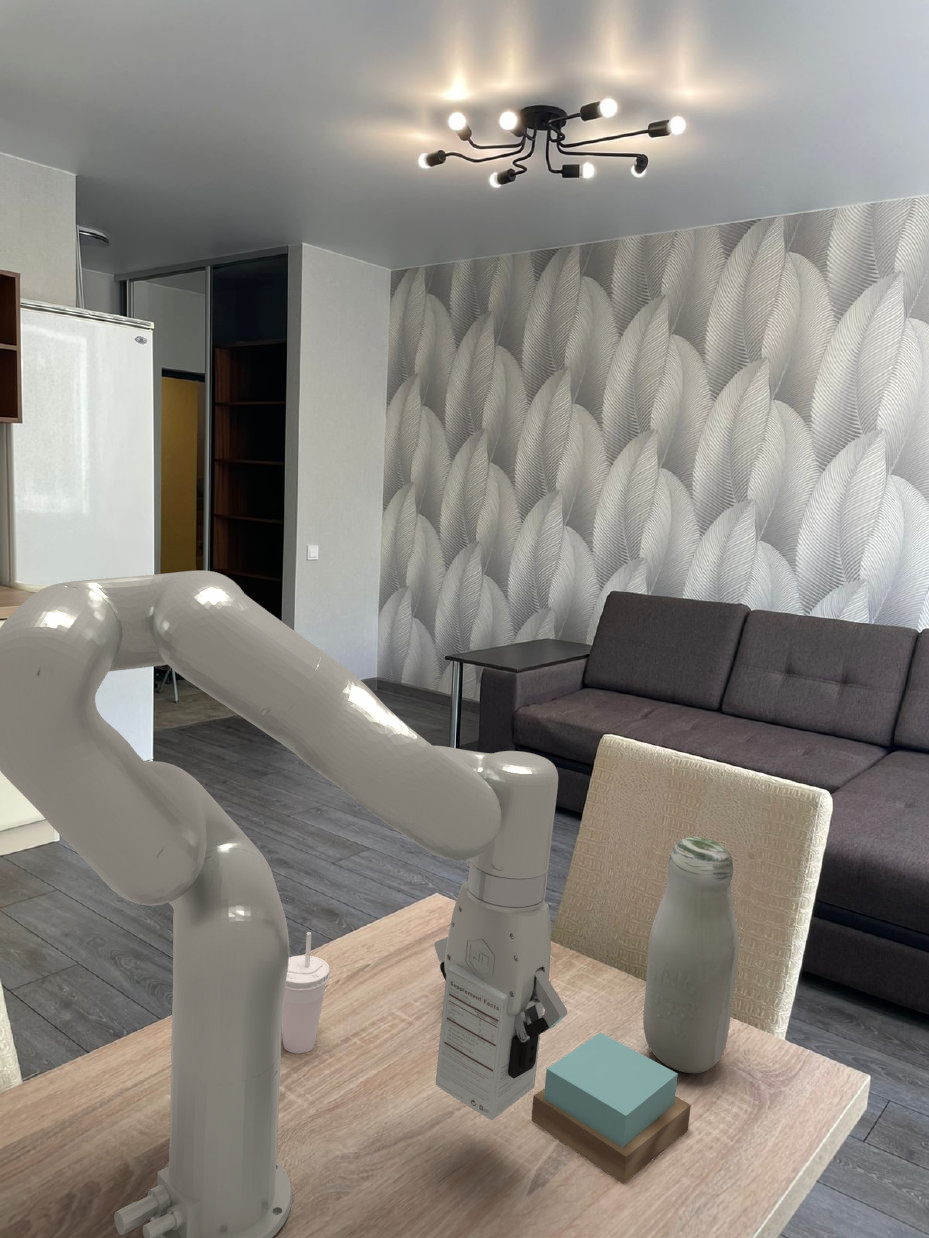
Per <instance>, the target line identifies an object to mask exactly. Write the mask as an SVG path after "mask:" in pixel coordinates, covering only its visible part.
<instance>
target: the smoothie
mask: <svg viewBox="0 0 929 1238" xmlns="http://www.w3.org/2000/svg"><path fill="white" fill-rule="evenodd" d="M305 935H306V939H305V955H304V954H302V955H293V956H289V963H288V971H287V978H286V985H285V992H284V1000H283V1012H282V1031H281V1035H282V1041H283V1048H284V1049H285V1050H286V1051H287V1052H289V1053H292V1054H305V1053H308V1052H310V1051H311V1050H313V1049H314V1047H315V1046H316V1040H317V1033H318V1029H319V1023H320V1018H321V1012H322V1007H323V1006H322V1005H323V1001H324V996H325V991H326V990H325V989H326V986H327V985H326V984H327V983H328V981H329V979H330V976H331V974H330V966H329V964H328V962H327V961H325V960H324V959H323V958H320V957H317V956H313V955H311V946H312V932H310V931H308V932H306V934H305Z"/></svg>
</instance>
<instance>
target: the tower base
mask: <svg viewBox="0 0 929 1238" xmlns="http://www.w3.org/2000/svg"><path fill="white" fill-rule="evenodd" d="M544 1093H545V1087H544V1088H543V1089H542V1090H540V1091H538V1092H537V1093H535V1094H534V1095H533V1098H532V1109H531V1120H530V1121H531V1122H532V1123H534V1124H535V1125H537V1126H538V1127H540V1128H541V1129H542V1130H543V1131H546V1132H547V1133H549V1134H550V1135H551V1136H553V1137H554V1138H556V1139H557V1140H558V1141H560V1142H562V1143H563V1144H564V1145H566V1146H567V1147H569V1148H570V1149H572V1150H573V1151H574V1152H576V1153H577V1154H579V1155H580V1156H582V1157H583V1158H585V1159H586V1160H588V1161H589V1162H590V1163H592V1164H593V1165H594V1166H597V1167H598V1168H599V1169H600V1170H603V1172H605V1173H606V1174H608V1175H610V1176H611V1177H613V1179H615V1180H616V1181H618V1182H620V1183H621V1184H622V1185H624V1184H625V1183H626V1182H628V1181H629V1180H630V1179H632V1178H633V1177H634V1176H635V1175H636V1174H637V1173H639V1172H640V1171H641V1170H642V1169H644V1168H645V1166H647V1165H648V1164H649V1163H651V1162H652V1161H653V1160H654V1159H655V1158H657V1157H658V1156H659V1155H660V1154H662V1153H663V1151H665V1150H666V1149H667V1148H668V1147H669V1146H671V1145H672V1144H673V1143H675V1142H676V1141H677V1140H678V1139H679V1138H680V1137H681V1136H683V1135H684V1134H685V1133H686V1132H688V1131H689V1125H690V1124H689V1123H690V1114H691V1108H692V1107H691V1106H692V1105H691V1104H690V1103H688V1102H686V1101H685V1100H683V1099H681V1098H680V1097H678V1096H676V1095H675V1104H673V1105H672V1106H671V1107H670V1108H669V1109H668V1110H666V1111H665V1112H664V1113H663V1114H662V1115H661V1116H659V1117H658V1118H657V1119H656V1120H655V1121H654V1122H652V1123H651V1124H650V1125H649V1126H648V1127H647V1128H645V1129H644V1130H643V1131H642V1132H641V1133H640V1134H638V1135H637V1136H636V1137H635V1138H634V1139H633V1140H631V1141H630V1142H629V1143H628V1144H627V1145H626V1146H624V1147H621V1146H619V1145H618V1144H616V1143H615V1142H613V1141H611V1140H610V1139H608V1138H607V1137H605V1136H603V1135H602V1134H600V1133H598V1132H597V1131H595V1130H594V1129H592V1128H590V1127H589V1126H587V1125H586V1124H584V1123H582V1122H581V1121H579V1120H578V1119H576V1118H574V1117H573V1116H571V1115H570V1114H568V1113H566V1112H565V1111H563V1110H561V1109H560V1108H558V1107H557V1106H555V1105H553V1104H552V1103H550V1102H549V1101H547V1100H545V1099H544Z"/></svg>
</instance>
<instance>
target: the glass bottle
mask: <svg viewBox="0 0 929 1238" xmlns="http://www.w3.org/2000/svg"><path fill="white" fill-rule="evenodd" d="M732 858H733V857H732V855H731V853H730V851H729V850H728V849H727V848H725V847H724V845H722V844H720V843H718V842H716V841H714V840H713V839H710V838H705V837H701V836H687V837H685V838H682V839H680V840H678V841H677V842H676V843H675V845H674V846H673V848H672V850H671V853H670V854H669V858H668V862H667V872H668V873H667V881H666V886H665V889H664V890H665V891H664V894H663V896H662V898H661V901H660V903H659V906H658V909H657V911H656V914H655V917H654V919H653V922H652V925H651V929H650V933H649V939H648V946H647V947H648V948H647V960H646V961H647V962H646V963H647V964H646V965H647V966H646V981H645V993H644V1001H643V1002H644V1003H643V1016H642V1022H643V1023H642V1024H643V1032H644V1037H645V1040H646V1044H647V1045H648V1047H649V1049H650V1051H651V1052H652V1053H653V1054H654V1056H655V1057H656V1059H658V1060H659V1061H660V1062H662V1063H663V1064H664V1065H666V1066H667V1067H669V1068H671V1069H673V1070H675V1071H678V1072H682V1073H685V1074H686V1073H687V1074H701V1073H703V1072H706V1071H708V1070H709V1069H711V1068H713V1067H714V1066H715V1064H717V1063H718V1062H719V1061H720V1060H721V1059H722V1057H723V1055H724V1052H725V1049H726V1046H727V1042H728V1037H729V1031H730V1023H731V1016H732V1009H733V1008H732V1007H733V1000H734V992H735V985H736V977H737V970H738V969H737V968H738V961H739V960H738V959H739V952H740V949H739V948H740V944H739V943H740V940H739V932H738V924H737V923H738V922H737V918H736V915H735V909H734V903H733V902H734V900H733V892H732V884H731V881H732V879H733V875H734V864H733V859H732Z"/></svg>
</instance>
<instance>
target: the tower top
mask: <svg viewBox="0 0 929 1238" xmlns="http://www.w3.org/2000/svg"><path fill="white" fill-rule="evenodd" d="M678 1075H679V1073H677V1072H675V1071H673V1070H672V1069H670V1068H668V1067H666V1066H664V1065H662V1064H661V1063H658V1062H656V1061H655V1060H653V1059H651V1058H649V1057H647V1056H646V1055H643V1054H642V1053H640V1052H638V1051H636V1050H635V1049H632V1048H630V1047H629V1046H626V1045H625V1044H623V1043H622V1042H619V1041H618V1040H616V1039H613V1038H612V1037H610V1036H608V1035H606V1034H604V1033H602V1032H599V1033H597V1034H596V1035H594V1036H592V1038H589V1039H588V1040H586V1041H585V1042H584V1043H582V1044H581V1045H579V1046H578V1047H577V1048H575V1049H574V1050H572V1051H570V1052H569V1053H567V1054H566V1055H565V1056H563V1057H561V1058H560V1059H559V1060H557V1061H556V1062H554V1063H552V1064H551V1065H549V1066H548V1067H547V1068H546V1071H545V1082H544V1088H545V1093H544V1099H545V1100H547V1101H549V1102H550V1103H552V1104H553V1105H555V1106H557V1107H558V1108H560V1109H561V1110H563V1111H565V1112H566V1113H568V1114H570V1115H571V1116H573V1117H574V1118H576V1119H578V1120H579V1121H581V1122H582V1123H584V1124H586V1125H587V1126H589V1127H590V1128H592V1129H594V1130H595V1131H597V1132H598V1133H600V1134H602V1135H603V1136H605V1137H607V1138H608V1139H610V1140H611V1141H613V1142H615V1143H616V1144H618V1145H619V1146H621V1147H624V1146H626V1145H627V1144H628V1143H629V1142H630V1141H631V1140H633V1139H634V1138H635V1137H636V1136H637V1135H638V1134H640V1133H641V1132H642V1131H643V1130H644V1129H645V1128H647V1127H648V1126H649V1125H650V1124H651V1123H652V1122H654V1121H655V1120H656V1119H657V1118H658V1117H659V1116H661V1115H662V1114H663V1113H664V1112H665V1111H666V1110H668V1109H669V1108H670V1107H671V1106H672V1105H673V1104H675V1096H676V1092H677V1085H678Z"/></svg>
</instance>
